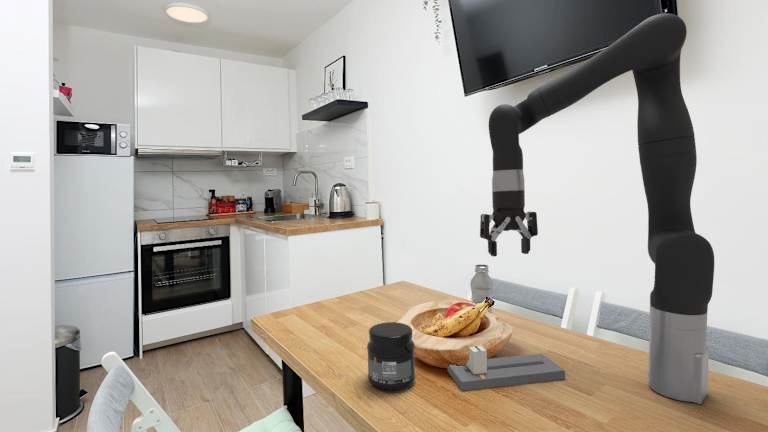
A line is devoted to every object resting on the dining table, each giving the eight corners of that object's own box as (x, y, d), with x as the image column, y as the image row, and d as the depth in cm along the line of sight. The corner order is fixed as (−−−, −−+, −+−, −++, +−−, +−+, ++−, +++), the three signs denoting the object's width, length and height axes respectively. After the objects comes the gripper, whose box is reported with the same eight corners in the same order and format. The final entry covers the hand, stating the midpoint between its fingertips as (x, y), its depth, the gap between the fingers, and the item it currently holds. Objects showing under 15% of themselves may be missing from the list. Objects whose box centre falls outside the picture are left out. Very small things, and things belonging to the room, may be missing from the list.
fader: (477, 362, 87) (477, 341, 87) (486, 372, 82) (486, 350, 82) (465, 364, 87) (464, 342, 86) (473, 374, 82) (473, 351, 81)
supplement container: (398, 366, 91) (397, 318, 90) (425, 385, 82) (424, 331, 81) (359, 378, 86) (358, 327, 85) (383, 400, 77) (382, 342, 76)
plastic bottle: (495, 337, 108) (494, 268, 107) (470, 335, 109) (470, 267, 108) (493, 329, 114) (492, 263, 113) (470, 328, 116) (469, 263, 114)
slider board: (541, 361, 92) (541, 352, 92) (565, 379, 83) (565, 369, 83) (447, 371, 88) (447, 362, 88) (461, 391, 79) (461, 381, 79)
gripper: (525, 188, 98) (526, 250, 98) (474, 190, 95) (475, 254, 96) (543, 187, 90) (544, 255, 91) (488, 189, 87) (489, 259, 88)
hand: (509, 254), depth 93 cm, fingers open, 8 cm apart
